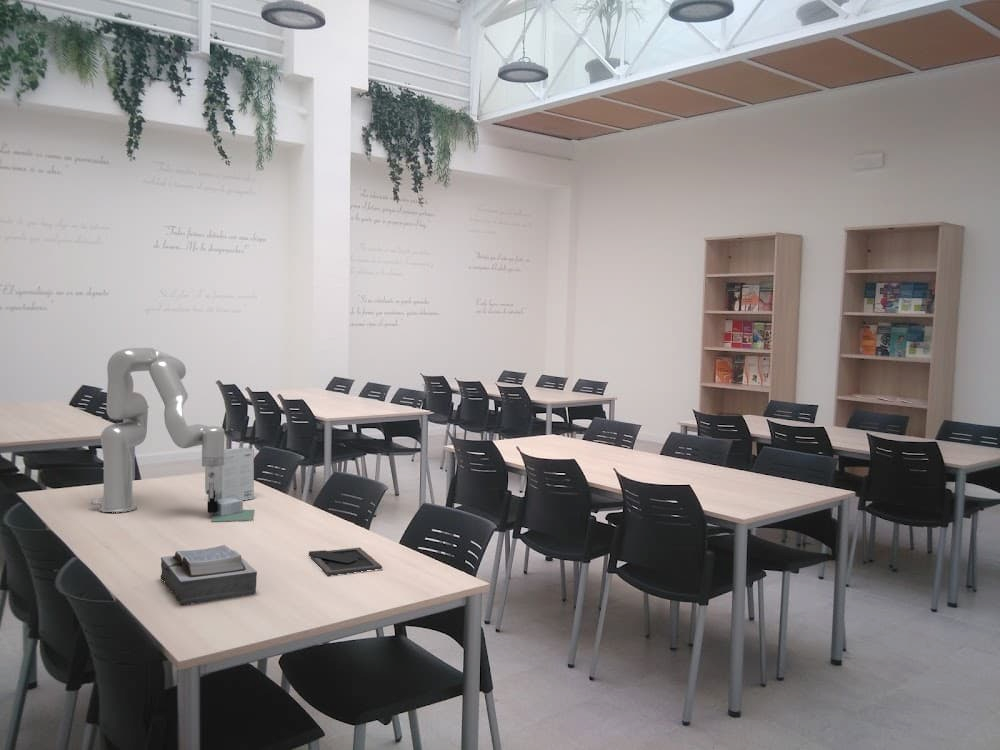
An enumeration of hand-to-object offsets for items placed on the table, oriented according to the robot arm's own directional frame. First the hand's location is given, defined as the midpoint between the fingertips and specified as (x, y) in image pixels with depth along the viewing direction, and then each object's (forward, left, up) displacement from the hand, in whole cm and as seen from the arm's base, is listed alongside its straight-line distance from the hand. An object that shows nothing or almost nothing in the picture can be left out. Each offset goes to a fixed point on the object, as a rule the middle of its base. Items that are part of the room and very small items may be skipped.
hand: (212, 512), depth 287 cm
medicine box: (+1, +2, +1) cm, 3 cm away
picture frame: (+42, -63, -3) cm, 76 cm away
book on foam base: (+5, -78, -2) cm, 78 cm away
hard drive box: (+5, +26, -2) cm, 27 cm away
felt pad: (+7, 0, -2) cm, 7 cm away
